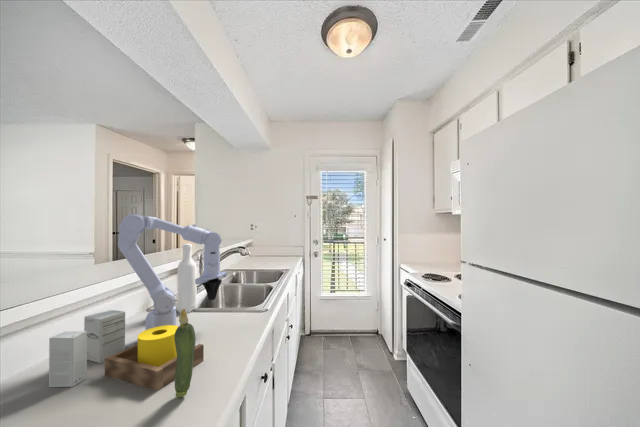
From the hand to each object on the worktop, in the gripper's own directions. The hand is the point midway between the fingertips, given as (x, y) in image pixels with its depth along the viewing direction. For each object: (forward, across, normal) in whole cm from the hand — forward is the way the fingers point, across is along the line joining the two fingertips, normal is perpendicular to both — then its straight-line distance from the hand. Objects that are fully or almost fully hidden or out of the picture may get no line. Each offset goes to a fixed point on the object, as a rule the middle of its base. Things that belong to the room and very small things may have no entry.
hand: (212, 299), depth 102 cm
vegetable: (+11, -34, -23) cm, 42 cm away
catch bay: (+10, -27, -6) cm, 30 cm away
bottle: (+11, +12, +25) cm, 30 cm away
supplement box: (+11, -28, +15) cm, 33 cm away
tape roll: (+11, -27, -6) cm, 30 cm away
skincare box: (+11, -40, +9) cm, 42 cm away
